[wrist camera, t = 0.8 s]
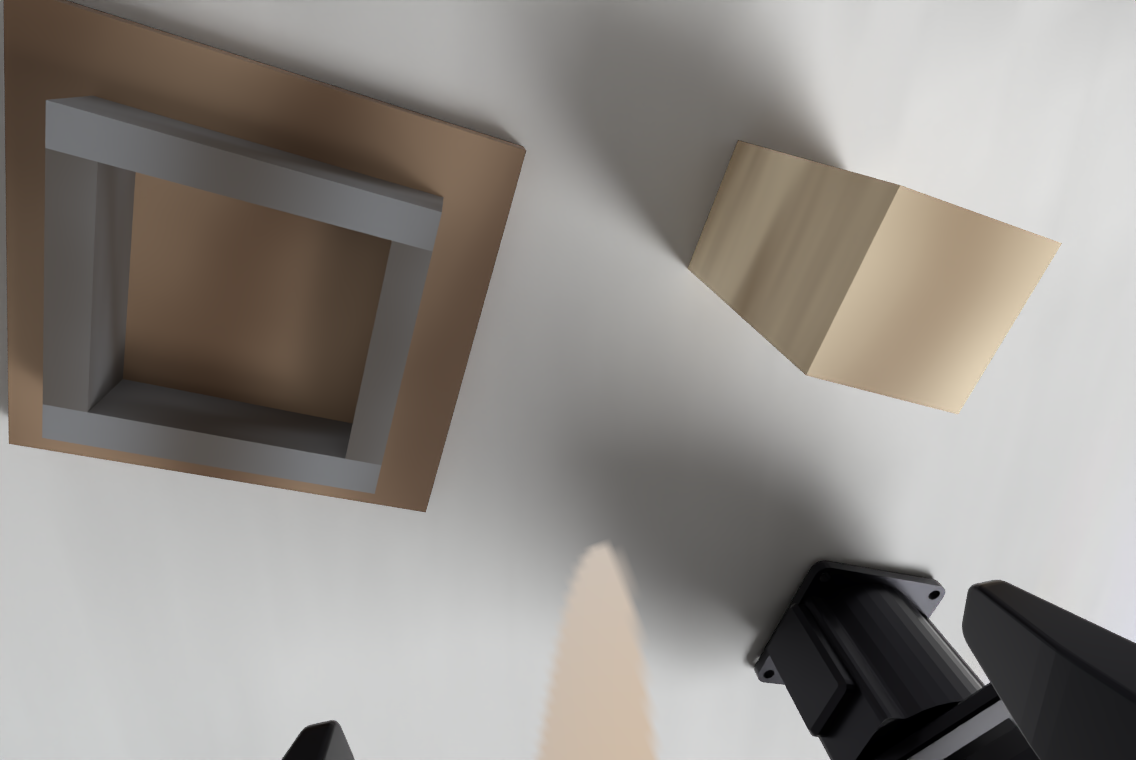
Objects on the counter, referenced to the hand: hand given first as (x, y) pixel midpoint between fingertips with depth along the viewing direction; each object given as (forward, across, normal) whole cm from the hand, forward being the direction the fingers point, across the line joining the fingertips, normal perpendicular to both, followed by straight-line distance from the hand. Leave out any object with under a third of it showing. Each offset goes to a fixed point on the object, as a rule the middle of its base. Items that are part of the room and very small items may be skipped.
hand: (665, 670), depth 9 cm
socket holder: (+13, +8, -3) cm, 16 cm away
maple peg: (+13, -7, -2) cm, 15 cm away
